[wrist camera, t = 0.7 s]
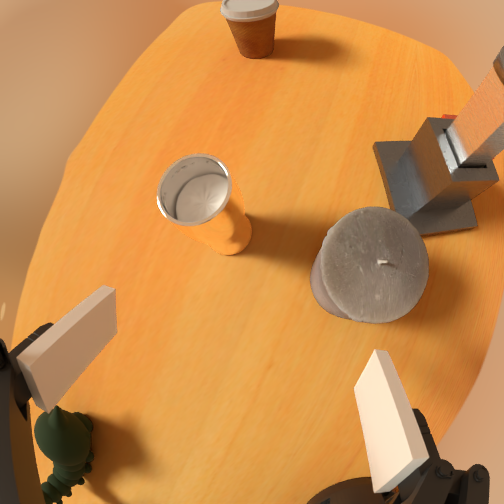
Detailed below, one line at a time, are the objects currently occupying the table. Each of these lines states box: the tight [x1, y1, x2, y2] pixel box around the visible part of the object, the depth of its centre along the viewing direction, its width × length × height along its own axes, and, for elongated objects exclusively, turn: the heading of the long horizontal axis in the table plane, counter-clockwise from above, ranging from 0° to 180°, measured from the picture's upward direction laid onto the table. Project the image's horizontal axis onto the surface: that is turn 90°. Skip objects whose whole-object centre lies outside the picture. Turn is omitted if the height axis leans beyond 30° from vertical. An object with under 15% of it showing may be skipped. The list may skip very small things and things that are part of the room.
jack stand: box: [373, 114, 499, 236], centre depth 29 cm, size 14×14×12 cm
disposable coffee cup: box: [220, 0, 279, 59], centre depth 37 cm, size 10×10×12 cm
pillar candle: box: [310, 207, 429, 324], centre depth 27 cm, size 10×10×15 cm
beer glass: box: [157, 153, 252, 255], centre depth 30 cm, size 7×7×15 cm
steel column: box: [444, 46, 504, 168], centre depth 21 cm, size 6×6×24 cm
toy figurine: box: [34, 406, 94, 504], centre depth 25 cm, size 9×19×25 cm
